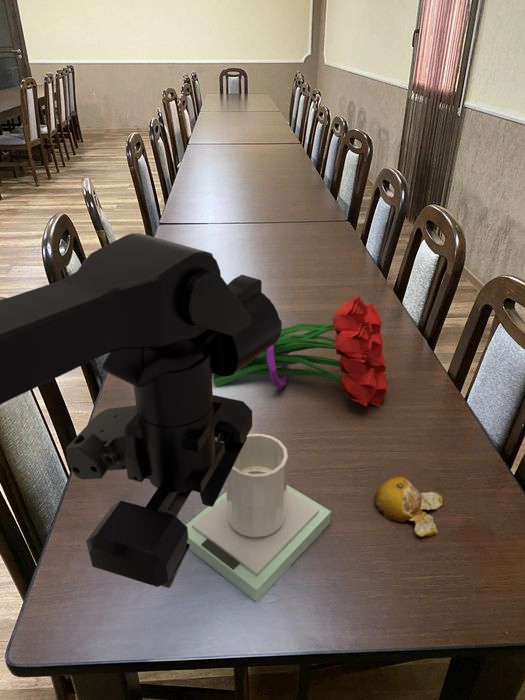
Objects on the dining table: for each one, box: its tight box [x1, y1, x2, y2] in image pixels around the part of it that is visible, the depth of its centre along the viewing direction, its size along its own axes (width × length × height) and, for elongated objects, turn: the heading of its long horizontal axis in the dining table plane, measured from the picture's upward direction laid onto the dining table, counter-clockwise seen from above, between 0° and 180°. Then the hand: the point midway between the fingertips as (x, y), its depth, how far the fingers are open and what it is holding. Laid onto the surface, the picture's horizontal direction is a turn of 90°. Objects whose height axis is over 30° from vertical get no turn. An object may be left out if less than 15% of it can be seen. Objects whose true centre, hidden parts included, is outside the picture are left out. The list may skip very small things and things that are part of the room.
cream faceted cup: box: [225, 433, 289, 537], centre depth 61 cm, size 7×7×10 cm
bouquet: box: [212, 294, 388, 407], centre depth 88 cm, size 20×16×30 cm
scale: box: [185, 484, 332, 603], centre depth 65 cm, size 14×12×3 cm
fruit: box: [373, 476, 444, 538], centre depth 68 cm, size 8×8×4 cm
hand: (188, 541), depth 48 cm, fingers open, 9 cm apart
